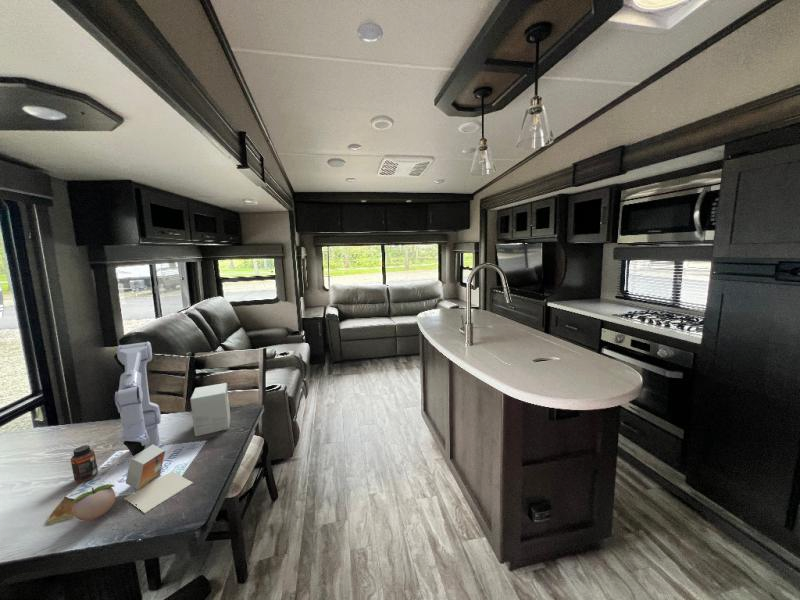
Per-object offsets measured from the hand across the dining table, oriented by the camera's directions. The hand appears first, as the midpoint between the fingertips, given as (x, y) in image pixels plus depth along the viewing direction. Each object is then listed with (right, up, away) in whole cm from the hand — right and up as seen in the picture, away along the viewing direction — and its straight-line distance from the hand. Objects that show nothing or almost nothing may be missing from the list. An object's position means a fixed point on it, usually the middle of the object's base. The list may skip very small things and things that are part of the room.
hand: (138, 458), depth 107 cm
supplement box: (+4, -4, +36) cm, 36 cm away
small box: (+1, -8, +1) cm, 8 cm away
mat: (+10, -9, -4) cm, 14 cm away
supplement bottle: (-21, -9, +3) cm, 23 cm away
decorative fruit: (0, -11, -14) cm, 18 cm away
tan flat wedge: (-13, -11, -12) cm, 21 cm away
